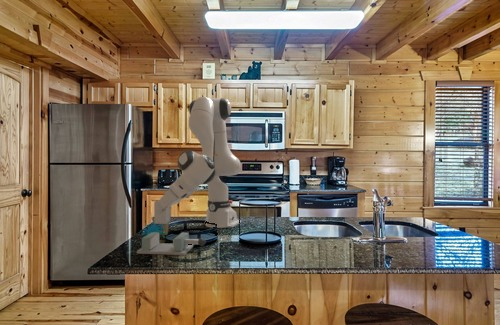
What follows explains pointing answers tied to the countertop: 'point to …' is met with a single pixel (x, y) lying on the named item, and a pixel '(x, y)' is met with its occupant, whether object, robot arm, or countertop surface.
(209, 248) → the countertop surface
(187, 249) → the vise
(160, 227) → the flower pot
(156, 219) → the block
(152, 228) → the gear
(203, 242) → the jaw
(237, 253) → the countertop surface
